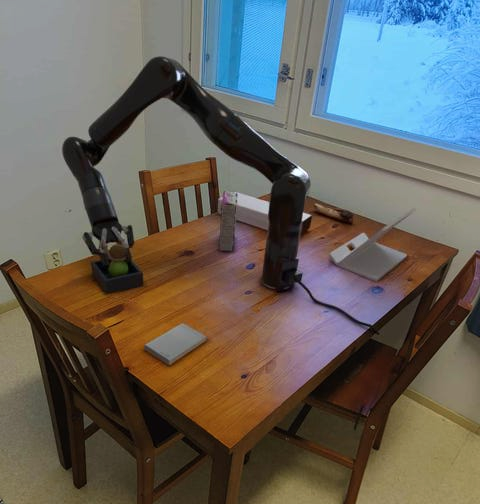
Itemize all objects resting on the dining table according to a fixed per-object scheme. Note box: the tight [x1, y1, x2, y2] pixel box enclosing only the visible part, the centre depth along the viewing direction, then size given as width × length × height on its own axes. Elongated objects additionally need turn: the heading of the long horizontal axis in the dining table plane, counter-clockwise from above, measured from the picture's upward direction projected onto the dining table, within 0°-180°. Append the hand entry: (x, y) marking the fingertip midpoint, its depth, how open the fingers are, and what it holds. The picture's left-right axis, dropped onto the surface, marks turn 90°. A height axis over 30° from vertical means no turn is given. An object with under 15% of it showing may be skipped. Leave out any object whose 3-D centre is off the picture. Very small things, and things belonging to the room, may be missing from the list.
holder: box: [90, 259, 144, 295], centre depth 129 cm, size 12×11×4 cm
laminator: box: [216, 191, 313, 235], centre depth 170 cm, size 34×12×6 cm, turn 58°
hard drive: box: [143, 322, 207, 366], centre depth 108 cm, size 2×8×12 cm
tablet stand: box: [328, 208, 416, 282], centre depth 150 cm, size 18×25×17 cm
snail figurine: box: [102, 239, 128, 278], centre depth 126 cm, size 5×6×12 cm
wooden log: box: [313, 203, 354, 224], centre depth 183 cm, size 9×5×18 cm
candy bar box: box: [218, 190, 239, 252], centre depth 150 cm, size 11×5×16 cm, turn 179°
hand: (118, 264), depth 126 cm, fingers closed on snail figurine, 5 cm apart
